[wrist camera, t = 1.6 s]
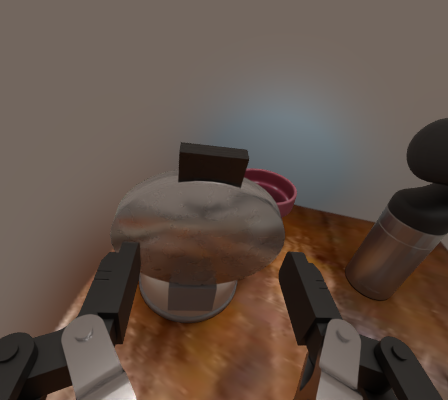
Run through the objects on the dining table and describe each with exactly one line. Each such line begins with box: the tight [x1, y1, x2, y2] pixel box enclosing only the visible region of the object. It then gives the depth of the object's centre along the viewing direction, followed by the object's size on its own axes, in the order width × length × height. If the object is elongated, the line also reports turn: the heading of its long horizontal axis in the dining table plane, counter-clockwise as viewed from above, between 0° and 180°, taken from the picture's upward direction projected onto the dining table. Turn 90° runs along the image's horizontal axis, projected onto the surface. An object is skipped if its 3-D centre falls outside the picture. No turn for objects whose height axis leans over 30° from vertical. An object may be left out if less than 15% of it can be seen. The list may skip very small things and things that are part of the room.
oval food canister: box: [139, 273, 237, 323], centre depth 43 cm, size 19×23×12 cm
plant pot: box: [244, 169, 297, 219], centre depth 57 cm, size 14×14×13 cm
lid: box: [110, 142, 285, 285], centre depth 25 cm, size 20×17×2 cm
